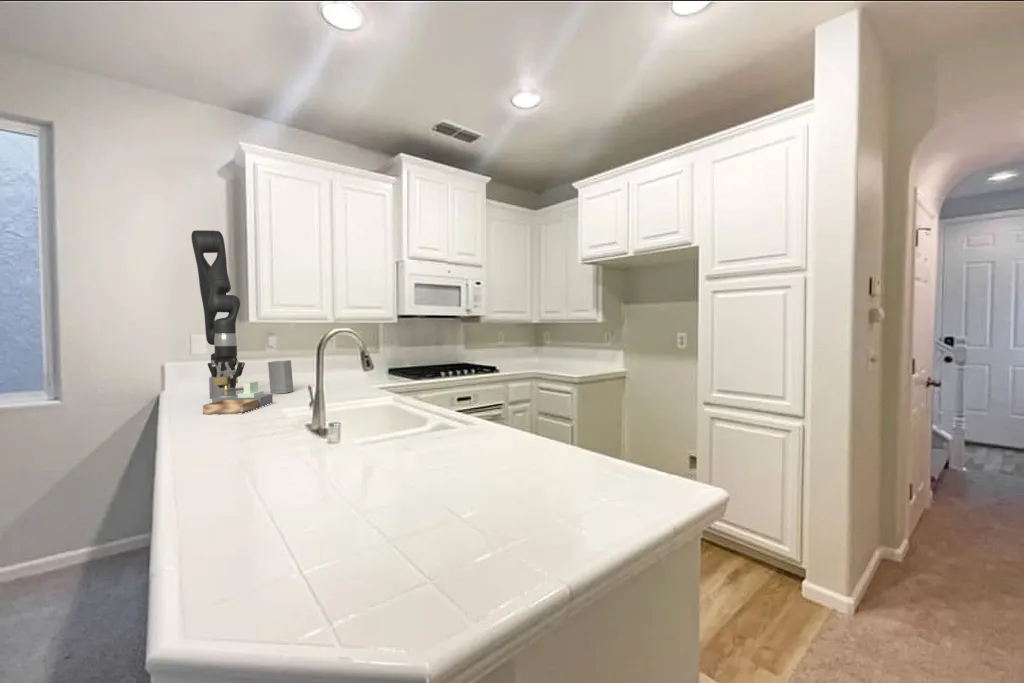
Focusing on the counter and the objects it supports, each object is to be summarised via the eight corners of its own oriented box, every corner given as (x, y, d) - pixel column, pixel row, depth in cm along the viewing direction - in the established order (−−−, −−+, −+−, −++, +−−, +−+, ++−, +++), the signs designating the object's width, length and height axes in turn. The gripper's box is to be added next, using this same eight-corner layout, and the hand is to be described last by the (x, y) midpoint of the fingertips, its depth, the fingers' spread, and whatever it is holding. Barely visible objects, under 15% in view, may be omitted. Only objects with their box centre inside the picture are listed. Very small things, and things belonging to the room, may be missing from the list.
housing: (212, 408, 169) (212, 398, 169) (227, 404, 179) (226, 394, 179) (260, 407, 171) (260, 397, 171) (272, 403, 181) (272, 393, 181)
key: (217, 397, 170) (217, 377, 170) (213, 396, 172) (213, 377, 171) (246, 393, 181) (246, 374, 181) (242, 392, 182) (242, 374, 182)
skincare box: (293, 392, 217) (293, 360, 216) (284, 394, 209) (284, 361, 209) (277, 391, 217) (276, 360, 217) (268, 394, 210) (267, 361, 210)
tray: (203, 414, 157) (202, 405, 157) (221, 409, 169) (221, 400, 169) (242, 413, 158) (242, 404, 158) (258, 408, 170) (258, 399, 170)
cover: (237, 397, 171) (237, 383, 171) (248, 394, 179) (248, 381, 179) (253, 397, 172) (253, 383, 171) (263, 394, 180) (263, 381, 179)
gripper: (201, 345, 171) (202, 389, 171) (237, 345, 171) (239, 388, 171) (214, 344, 178) (215, 386, 179) (249, 344, 178) (250, 386, 179)
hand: (227, 387), depth 175 cm, fingers closed on key, 4 cm apart
